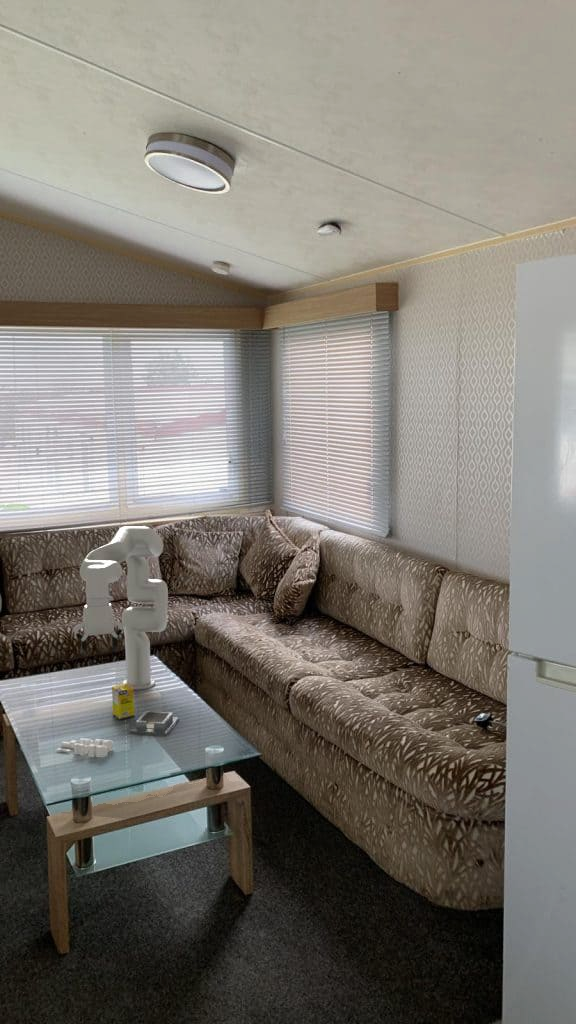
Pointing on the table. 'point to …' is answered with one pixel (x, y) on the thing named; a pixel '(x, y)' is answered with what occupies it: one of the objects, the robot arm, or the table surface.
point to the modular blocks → (89, 747)
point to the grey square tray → (154, 723)
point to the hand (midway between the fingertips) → (99, 649)
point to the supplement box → (123, 701)
